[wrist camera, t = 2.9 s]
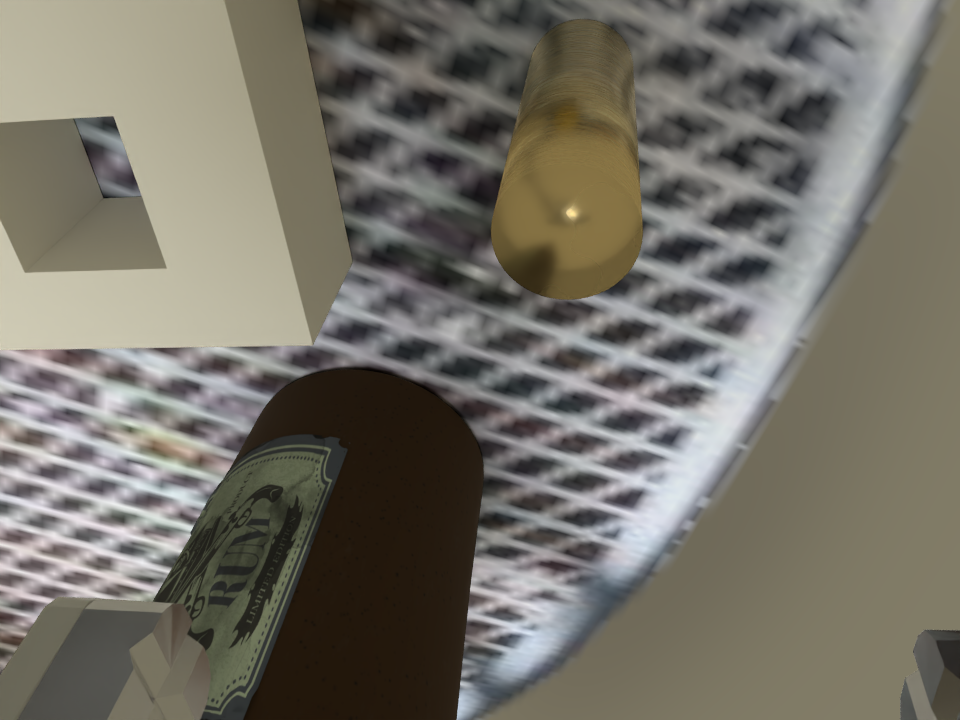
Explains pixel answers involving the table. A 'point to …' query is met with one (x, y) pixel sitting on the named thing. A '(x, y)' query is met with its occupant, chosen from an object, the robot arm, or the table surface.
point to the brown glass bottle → (337, 556)
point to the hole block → (165, 177)
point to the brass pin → (572, 167)
